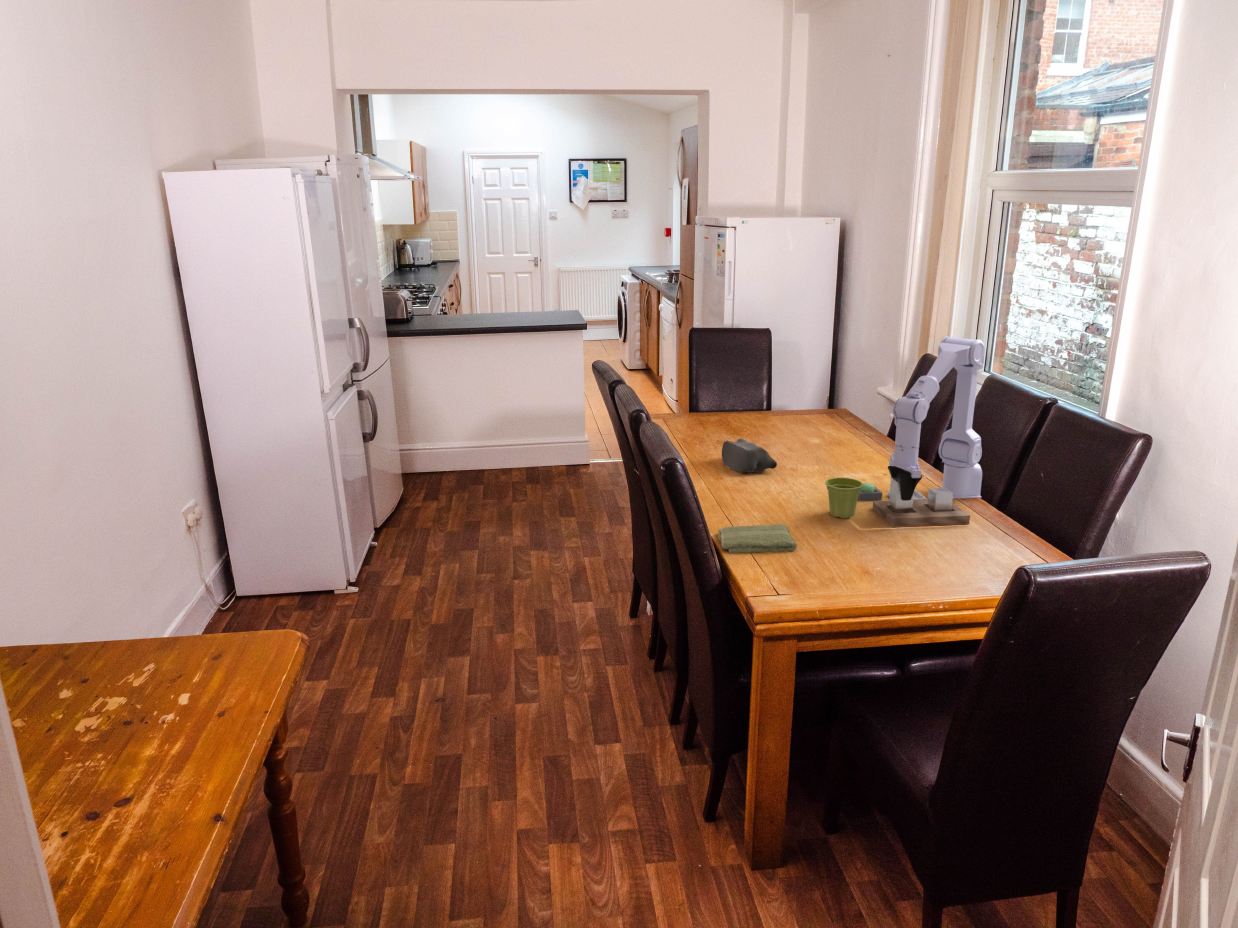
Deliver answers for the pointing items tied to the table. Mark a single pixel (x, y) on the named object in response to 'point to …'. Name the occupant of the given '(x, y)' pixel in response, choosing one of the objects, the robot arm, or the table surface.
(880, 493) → the button housing
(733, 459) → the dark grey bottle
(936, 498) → the seated billet
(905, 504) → the billet
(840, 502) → the plant pot
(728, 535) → the washcloth
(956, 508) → the board
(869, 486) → the button
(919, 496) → the shallow grey tray
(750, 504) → the table surface
